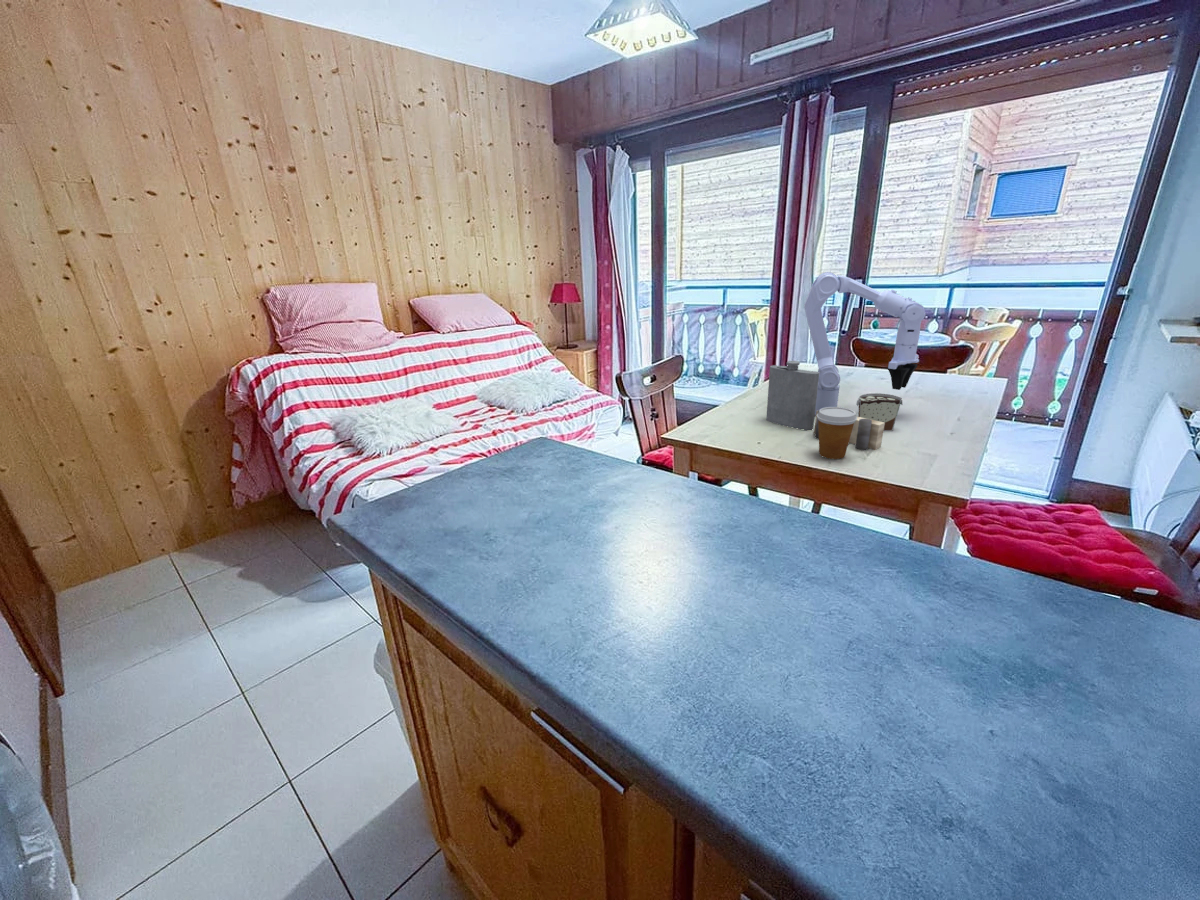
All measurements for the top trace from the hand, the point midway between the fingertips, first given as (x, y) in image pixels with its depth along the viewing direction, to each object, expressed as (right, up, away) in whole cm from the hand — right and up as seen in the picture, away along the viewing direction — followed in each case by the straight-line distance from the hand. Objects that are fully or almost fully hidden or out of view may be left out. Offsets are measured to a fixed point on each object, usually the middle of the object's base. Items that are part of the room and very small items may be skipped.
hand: (899, 388), depth 154 cm
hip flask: (-33, -11, +3) cm, 35 cm away
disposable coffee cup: (-30, -21, -21) cm, 42 cm away
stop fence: (-23, -17, -13) cm, 31 cm away
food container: (-11, -13, -4) cm, 17 cm away
